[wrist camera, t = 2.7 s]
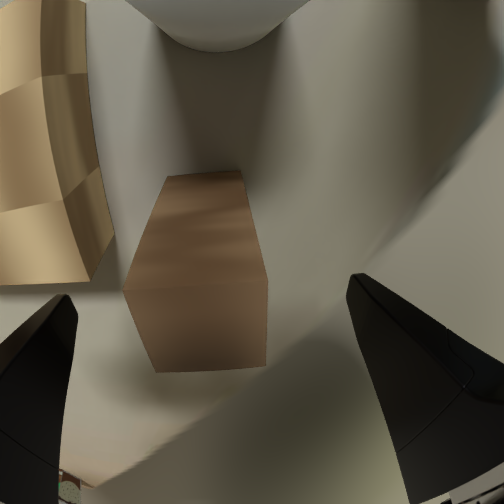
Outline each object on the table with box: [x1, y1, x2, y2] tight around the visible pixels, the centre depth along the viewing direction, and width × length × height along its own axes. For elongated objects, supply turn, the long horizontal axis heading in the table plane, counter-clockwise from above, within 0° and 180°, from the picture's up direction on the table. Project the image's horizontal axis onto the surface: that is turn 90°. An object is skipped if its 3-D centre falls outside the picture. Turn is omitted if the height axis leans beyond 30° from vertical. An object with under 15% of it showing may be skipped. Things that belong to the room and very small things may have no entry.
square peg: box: [122, 170, 268, 372], centre depth 11 cm, size 3×3×8 cm
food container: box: [59, 469, 81, 504], centre depth 44 cm, size 12×6×10 cm, turn 4°
